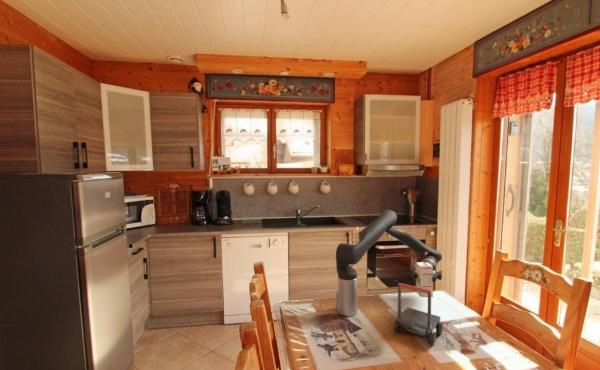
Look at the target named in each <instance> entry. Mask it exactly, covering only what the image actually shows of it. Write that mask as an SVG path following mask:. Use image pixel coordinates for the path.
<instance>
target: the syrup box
mask: <svg viewBox="0 0 600 370" xmlns="http://www.w3.org/2000/svg"><path fill="white" fill-rule="evenodd" d="M415 269H416V279H415V287H419V288H423V289H427V290H431V298H433V297H434V282H433V266H432V265H430V264H429V263H427V262H422V261H420V262H419V261H418V262H415ZM415 292H416V294H417V295H418V296H419V297H420V298H428V293H424V292H420V291H416V290H415Z"/></svg>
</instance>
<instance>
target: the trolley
mask: <svg viewBox="0 0 600 370" xmlns="http://www.w3.org/2000/svg"><path fill="white" fill-rule="evenodd" d="M402 288H404V289H408V290H412V291H415V292H416V291H420V292H424V293H428V297H427V312H426V311H422V310H418V309H414V308H411V307H408V306H407V307H406V308H405V309H404V310H403V311H402ZM405 325H408V326H411V327H414V328H417V329H420V330H423V331H424V333H423V332H420V331H418V330H417V331H416V330H413V329H411V328H408V327H406V326H405ZM443 329H444V322H443V321H441V316H440V315H439V316H438V315H437V314H436V315H435V314H432V297H431V290H427V289H423V288H419V287H416V285H415V286H414V285H410V284H407V283H401V282H398V283H397V316H396V319H395V321H394V323H393V332H394V333H398V334H400V332H401V330H404V331H406V332H410V333H412V334H415V335H418V336H422V337H424V338H427V342H428V345H431V346H434V345H435V343H436V339H437V335H436V334H438V335H442V334H443V331H444V330H443ZM434 330H435V331H434Z"/></svg>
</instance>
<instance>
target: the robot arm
mask: <svg viewBox="0 0 600 370" xmlns="http://www.w3.org/2000/svg"><path fill="white" fill-rule="evenodd" d="M397 220H398V216H397V213H396V212H395V211H394V210H392V209H385V210H383V211H382V212H381V214H380V215H379V216H378V217H377V218H376V219H375V220H374V221H372V222H370V223H369V224H368V225H367V226H365V227H364V228H363V229H362V230H361V231H360V233H359V235H358V239H359V242H358V243H356V244H349V243H345V242H342V243H339V244H338V245H337V247H336V250H335V264H336V272H337V291H336V292H335V295H336V301H335V303H336V304H335V305H336V306H335V311H336V312H338V314H340V315H342V316H344V317H345V316H347V317H353V316H355V315H357V313H358V272H357V270H356V269H355V268H353V267H352V265H357V264H359V262H360V261H361V260H362V258H363V257H364V256H365V255H366V253H367V252H368V251H369V249H371V247H372V246H373V245H375V244H376V243H377V242H379V240H380V238H381V237H383V235H384V233H387V234H388V235H390V236H391V237H393V238H394V239H396V240H398V241H400V242H401V243H402V244H404V245H405V246H406V247H408V248H409V249H410V250H411V251H412V252H414V253H415V254H416V255H421V254H423V253H426V254H425V255H424V256H423V257H422V258H421V262H427V263H429V264H430V265H432V266H433V283H435V282H436V281H437V280H439V281H442V280H443V279H442V278H443V270H439V271H437V268H438V263H439V262H441V260H442V258H443V256H442V254H441V252H439V250H437V249H434V248H432V247H431V246H428V245H426V243H424V242H422V241H421V240H420V239H419V238H417V237H416V236H415V235H413V234H410V233H407V232H403V231H400V230H398V229H396V228H395V227H394V225H395V224H396V222H397ZM409 276H412V278H413V279H414V280H416V267H414V266H411V267H410V269H409Z"/></svg>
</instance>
